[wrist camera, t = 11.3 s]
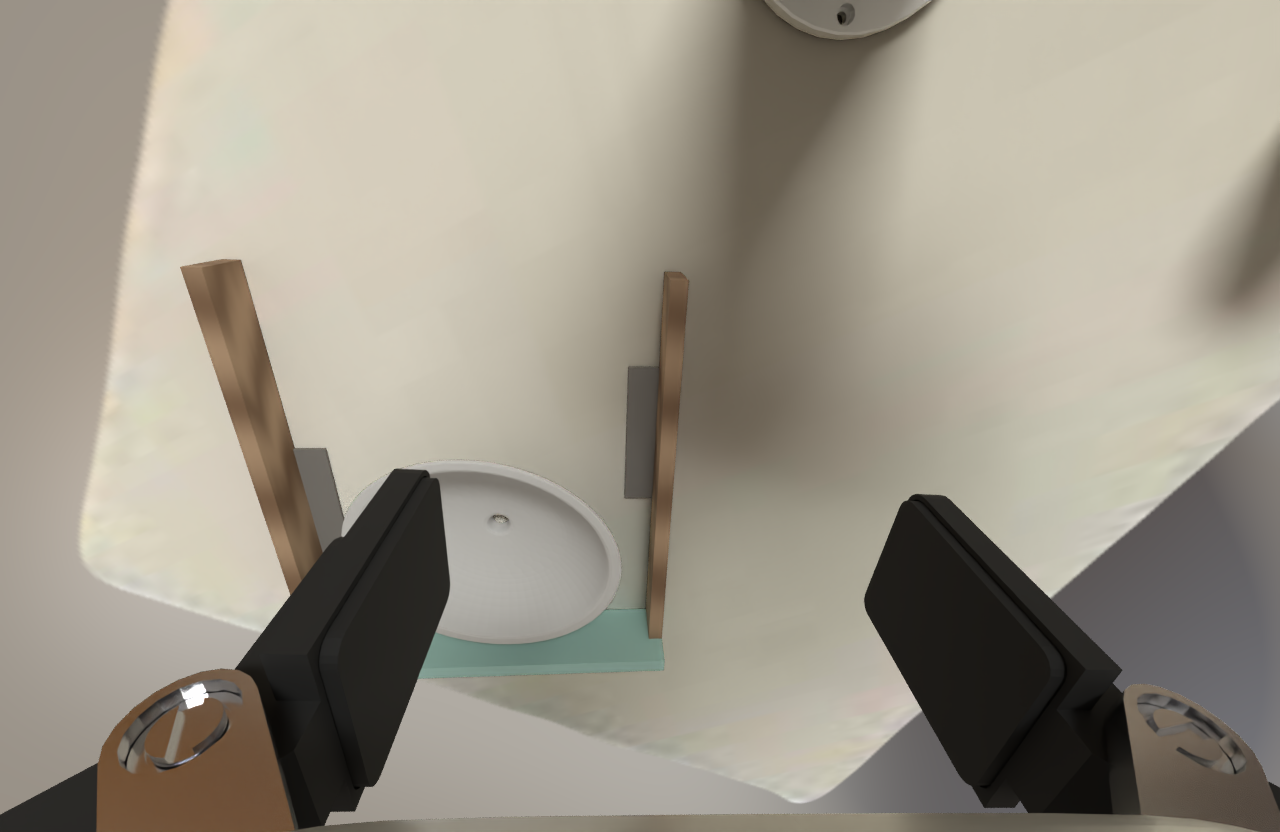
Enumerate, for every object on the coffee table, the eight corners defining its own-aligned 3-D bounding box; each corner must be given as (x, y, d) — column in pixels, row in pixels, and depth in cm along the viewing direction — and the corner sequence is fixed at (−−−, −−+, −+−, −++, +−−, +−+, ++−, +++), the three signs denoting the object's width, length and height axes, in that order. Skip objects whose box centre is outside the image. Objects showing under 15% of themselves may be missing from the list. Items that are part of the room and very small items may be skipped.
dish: (649, 470, 35) (656, 511, 31) (583, 612, 41) (581, 666, 36) (395, 390, 32) (361, 424, 27) (359, 559, 37) (324, 610, 32)
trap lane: (221, 259, 28) (146, 272, 23) (681, 272, 30) (694, 287, 25) (332, 625, 39) (296, 682, 35) (657, 617, 41) (663, 670, 37)
